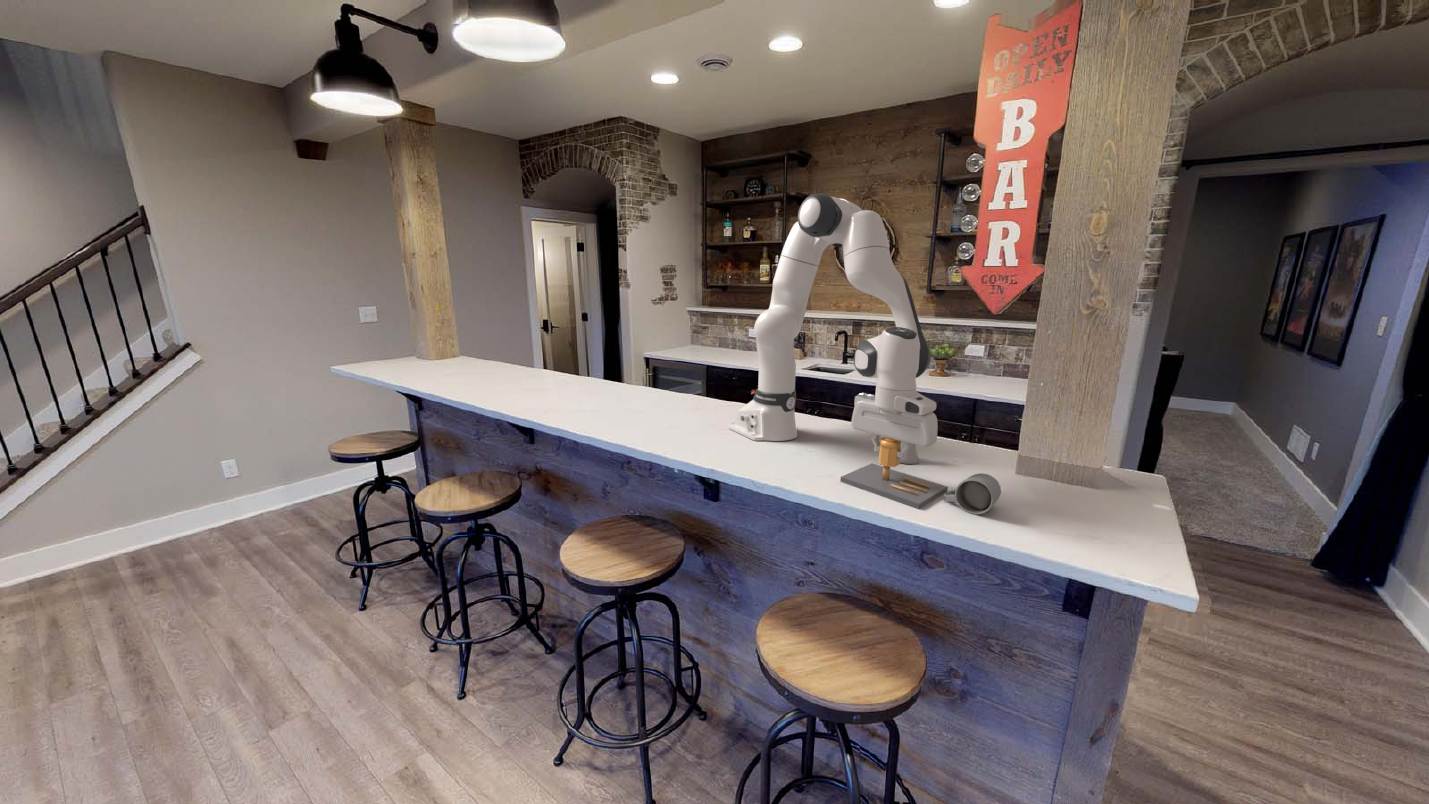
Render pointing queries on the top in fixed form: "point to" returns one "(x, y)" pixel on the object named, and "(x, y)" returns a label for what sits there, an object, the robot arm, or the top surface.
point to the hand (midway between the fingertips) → (889, 455)
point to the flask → (910, 455)
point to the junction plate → (895, 485)
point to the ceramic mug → (976, 493)
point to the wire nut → (889, 452)
